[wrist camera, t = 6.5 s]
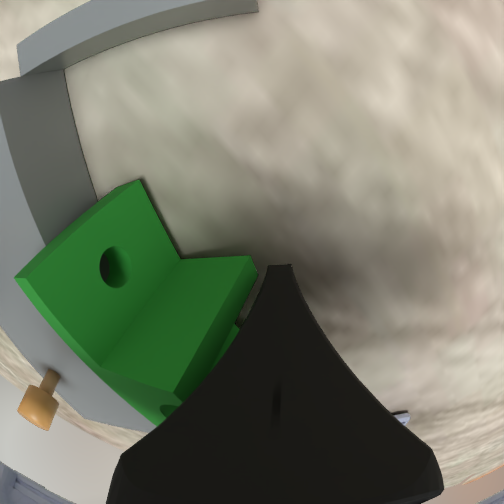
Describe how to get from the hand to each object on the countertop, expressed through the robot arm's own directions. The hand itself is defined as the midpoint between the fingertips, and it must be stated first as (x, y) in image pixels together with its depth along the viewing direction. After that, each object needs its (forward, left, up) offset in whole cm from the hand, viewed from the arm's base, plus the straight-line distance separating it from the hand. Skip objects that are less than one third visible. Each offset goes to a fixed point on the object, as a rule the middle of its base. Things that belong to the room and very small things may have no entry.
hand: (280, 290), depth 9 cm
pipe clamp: (-1, +2, -1) cm, 3 cm away
